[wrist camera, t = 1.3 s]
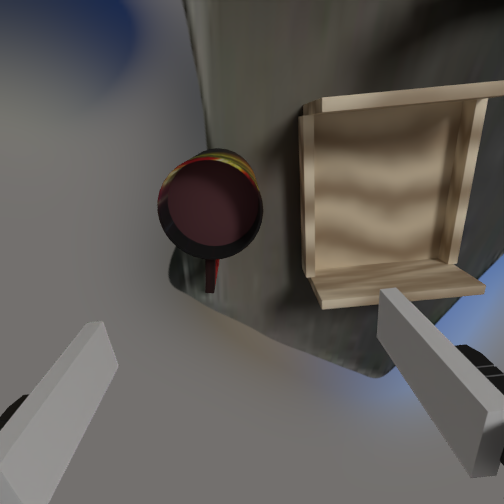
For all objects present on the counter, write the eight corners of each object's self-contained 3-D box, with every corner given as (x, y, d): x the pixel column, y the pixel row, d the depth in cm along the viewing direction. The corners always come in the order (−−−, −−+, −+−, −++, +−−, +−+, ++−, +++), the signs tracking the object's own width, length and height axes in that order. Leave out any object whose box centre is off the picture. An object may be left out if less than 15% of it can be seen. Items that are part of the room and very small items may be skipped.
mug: (214, 260, 42) (204, 306, 31) (167, 166, 37) (137, 182, 26) (278, 235, 41) (292, 274, 30) (239, 135, 36) (238, 138, 25)
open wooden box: (297, 105, 35) (315, 98, 27) (470, 89, 35) (541, 76, 27) (302, 275, 44) (316, 309, 35) (441, 262, 44) (489, 293, 35)
